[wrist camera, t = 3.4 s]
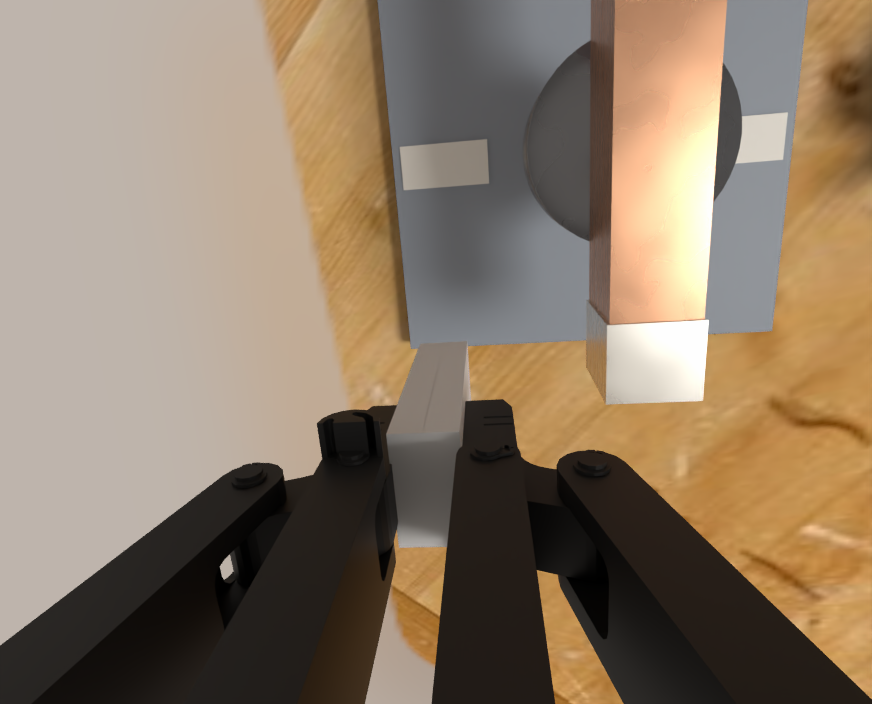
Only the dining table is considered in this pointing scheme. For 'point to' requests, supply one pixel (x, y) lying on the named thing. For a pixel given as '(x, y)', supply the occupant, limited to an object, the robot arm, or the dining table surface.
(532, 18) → the striped base plate
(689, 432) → the dining table surface
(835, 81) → the dining table surface
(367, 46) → the dining table surface
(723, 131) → the t handle
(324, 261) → the dining table surface
